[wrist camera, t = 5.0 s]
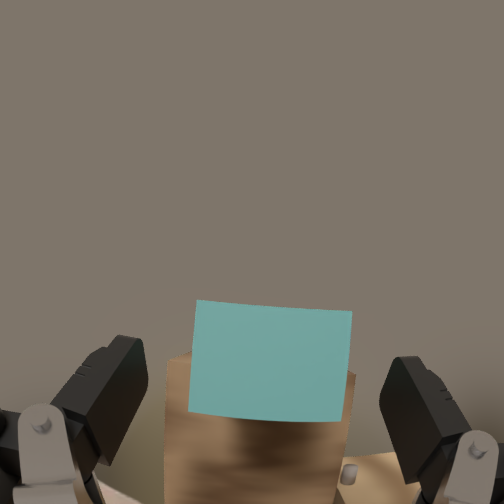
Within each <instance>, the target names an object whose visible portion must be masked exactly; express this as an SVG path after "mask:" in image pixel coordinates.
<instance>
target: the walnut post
mask: <svg viewBox="0 0 504 504" xmlns="http://www.w3.org/2000/svg"><path fill="white" fill-rule="evenodd" d="M191 361H192V351H191V352H188V353H186V354H183V355H181V356H178V357H176V358H173V359H171V360H168V366H167V382H166V402H165V433H164V491H165V504H333V501H334V497H335V493H336V488H337V484H338V480H339V475H340V471H341V466H342V461H343V456H344V451H345V446H346V440H347V434H348V428H349V422H350V416H351V409H352V402H353V394H354V386H355V377H356V374H354V373H352V372H350V371H348V370H347V380H346V388H345V396H344V404H343V411H342V418H341V421H339V422H289V421H268V420H254V419H242V418H232V417H223V416H215V415H208V414H201V413H194V412H188V405H189V389H190V374H191Z"/></svg>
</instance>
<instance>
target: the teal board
mask: <svg viewBox="0 0 504 504" xmlns="http://www.w3.org/2000/svg"><path fill="white" fill-rule="evenodd" d="M351 322H352V311H336V310H316V309H299V308H283V307H269V306H256V305H244V304H232V303H222V302H212V301H203V300H197V306H196V315H195V326H194V337H193V349H192V361H191V374H190V389H189V405H188V412H194V413H201V414H208V415H215V416H223V417H232V418H242V419H254V420H268V421H289V422H339V421H341V418H342V411H343V404H344V396H345V388H346V380H347V370H348V360H349V349H350V336H351Z"/></svg>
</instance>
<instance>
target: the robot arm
mask: <svg viewBox="0 0 504 504" xmlns="http://www.w3.org/2000/svg"><path fill="white" fill-rule="evenodd" d="M147 387H148V372H147V366H146V360H145V354H144V347H143V342H142V340H141V339H139V338H134V337H128V336H123V335H117V336H116V337H115V339H114V340H113V341H112V342H111V343H110V345H109V346H108V347H107V348H106V347H101V348H99V349H98V350H96V351H94V352H93V353H91V354H90V355H89V356H88V357H87V358H86V360H85V361H84V362H83V363H82V366H80V367H79V368H78V369H77V371H76V372H75V374H73V375H72V377H71V378H70V379H69V380H68V381H67V383H66V384H65V385H64V386H63V388H62V389H61V390H60V392H59V393H58V394H57V395H56V397H55V398H54V399H53V400H52V402H51V403H50V404H35V405H32V406H30V407H28V408H27V409H25V410H24V411H23V412H22V413H15V412H10V411H5V410H1V409H0V504H106V503H105V500H104V498H103V495H102V492H101V490H100V487H99V484H98V481H97V478H96V475H95V472H94V471H93V470H94V468H95V466H96V464H97V462H98V463H101V464H104V465H107V466H111V463H112V461H113V459H114V457H115V455H116V453H117V451H118V449H119V447H120V444H121V442H122V440H123V438H124V436H125V434H126V432H127V430H128V428H129V426H130V423H131V422H132V420H133V418H134V416H135V413H136V412H137V409H138V408H139V406H140V403H141V401H142V400H143V397H144V395H145V393H146V391H147ZM379 405H380V410H381V413H382V415H383V418H384V421H385V424H386V427H387V430H388V432H389V435H390V438H391V441H392V444H393V447H394V450H395V453H396V456H397V459H398V462H399V465H400V469H401V472H402V475H403V478H404V481H405V485H407V484H411V483H416V482H419V483H420V486H421V487H420V488H419V489H418V491H417V492H416V494H415V497H414V499H413V501H412V503H411V504H504V443H497V442H496V441H495V439H494V438H493V437H492V436H491V435H489V434H488V433H486V432H483V431H479V430H472V429H471V427H470V426H469V424H468V422H467V420H466V419H465V417H464V415H463V414H462V412H461V411H460V409H459V407H458V405H457V404H456V402H455V401H454V400H452V396H451V394H450V392H449V391H447V388H446V386H445V385H444V383H443V381H442V380H441V379H440V378H439V377H438V376H437V375H436V374H434V373H433V372H432V371H431V370H427V369H426V367H425V366H424V364H423V363H422V361H421V359H420V358H419V357H418V356H407V357H396V358H395V359H394V360H393V362H392V365H391V367H390V370H389V373H388V375H387V378H386V380H385V383H384V385H383V388H382V390H381V393H380V400H379Z"/></svg>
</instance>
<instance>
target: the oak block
mask: <svg viewBox="0 0 504 504" xmlns="http://www.w3.org/2000/svg"><path fill="white" fill-rule="evenodd" d="M420 487H421V486H420V483H419V482H416V483H411V484H407V485H405V481H404V478H403V475H402V472H401V469H400V465H399V462H398V459H397V456H396V453H395V452H390V453H382V454H374V455H365V456H355V457H343V461H342V466H341V471H340V475H339V480H338V484H337V488H336V493H335V497H334V501H333V504H411V503H412V501H413V499H414V497H415V494H416V492H417V491H418V489H419V488H420Z"/></svg>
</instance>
